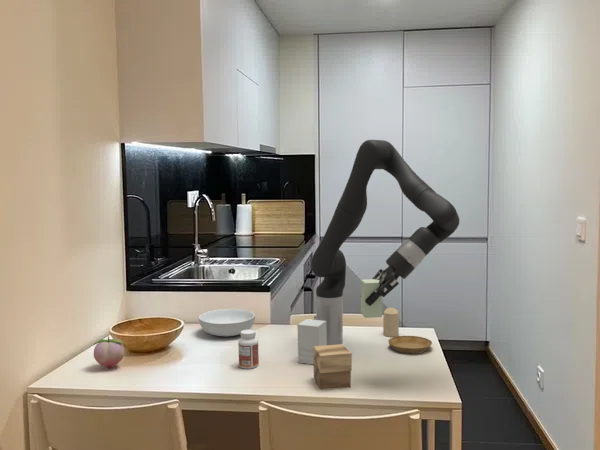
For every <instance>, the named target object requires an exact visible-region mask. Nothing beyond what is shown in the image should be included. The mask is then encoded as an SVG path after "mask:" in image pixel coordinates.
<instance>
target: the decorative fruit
mask: <svg viewBox="0 0 600 450" xmlns="http://www.w3.org/2000/svg"><path fill="white" fill-rule="evenodd" d="M94 345H95V346H94ZM93 346H94V349H93V358H94V360H95V361H96V362H97V363H98V364H99V365H101V366H103V367H106V368H108V369H110V368H112V367H114V366H115V365H118V364H119V363H120V362H121V361H122V360H123V358H124V355H125V348H124V342H123V341H122V340H121V339H118V338H110V336H107V338H106V339H98V340H97V341H95V342H94V343H93Z"/></svg>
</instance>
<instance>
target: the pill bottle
mask: <svg viewBox="0 0 600 450" xmlns="http://www.w3.org/2000/svg"><path fill="white" fill-rule="evenodd" d="M256 333H257V332H256V330H254V329H249V330H243V331H241V334H240V338H239V339H238V342H237V343H238V344H237V345H238V366H239V368H241V369H244V370H245V369H246V370H247V369H248V370H250V369H255V368H257V367H258V366H259V362H260V361H259V357H260V355H259V340H258V338H257V337H256Z"/></svg>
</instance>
